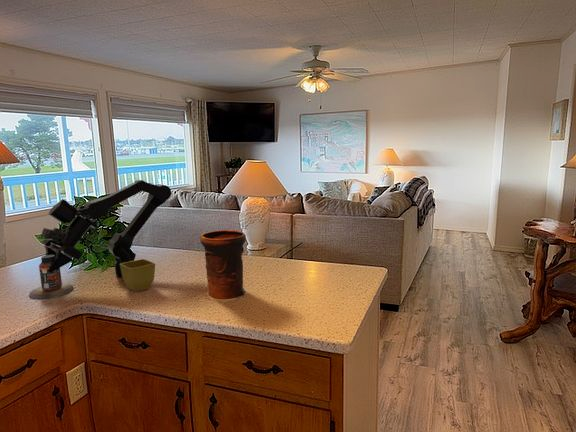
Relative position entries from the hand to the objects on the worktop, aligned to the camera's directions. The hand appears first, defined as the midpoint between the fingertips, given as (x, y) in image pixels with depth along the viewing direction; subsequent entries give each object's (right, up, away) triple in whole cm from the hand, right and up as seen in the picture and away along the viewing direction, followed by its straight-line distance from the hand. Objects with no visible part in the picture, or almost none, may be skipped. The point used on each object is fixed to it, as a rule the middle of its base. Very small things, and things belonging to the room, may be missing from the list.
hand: (45, 270), depth 135 cm
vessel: (+60, -7, -2) cm, 61 cm away
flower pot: (+30, -7, +4) cm, 31 cm away
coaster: (+1, -7, +2) cm, 8 cm away
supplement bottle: (+1, -7, +2) cm, 7 cm away
